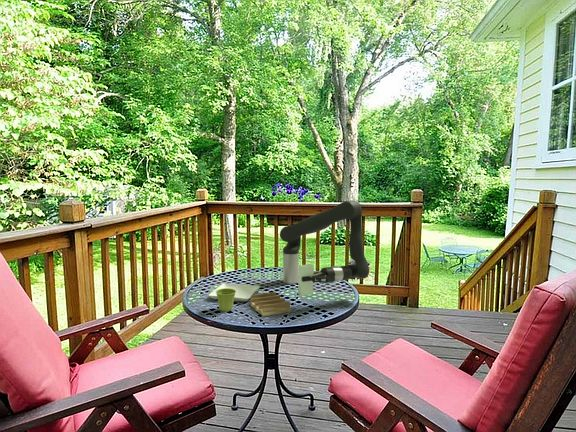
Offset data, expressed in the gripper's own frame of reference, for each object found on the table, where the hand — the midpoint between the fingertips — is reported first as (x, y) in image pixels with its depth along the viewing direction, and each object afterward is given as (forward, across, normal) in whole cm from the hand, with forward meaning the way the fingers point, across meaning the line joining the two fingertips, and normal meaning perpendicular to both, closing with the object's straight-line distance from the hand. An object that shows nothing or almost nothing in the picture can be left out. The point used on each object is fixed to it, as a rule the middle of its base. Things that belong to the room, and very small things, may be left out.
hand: (300, 278), depth 177 cm
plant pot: (+32, -13, +15) cm, 38 cm away
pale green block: (-3, 0, +8) cm, 9 cm away
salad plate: (+22, -30, +16) cm, 40 cm away
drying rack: (+13, -6, +15) cm, 20 cm away
